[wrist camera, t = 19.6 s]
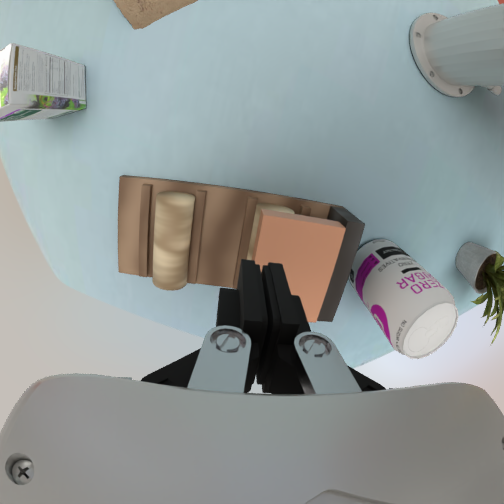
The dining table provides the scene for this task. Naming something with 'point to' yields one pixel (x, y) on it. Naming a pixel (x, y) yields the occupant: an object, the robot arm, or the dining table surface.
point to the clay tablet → (148, 10)
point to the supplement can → (403, 299)
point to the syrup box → (38, 84)
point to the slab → (300, 253)
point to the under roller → (172, 239)
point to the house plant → (484, 277)
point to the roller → (256, 220)
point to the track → (221, 232)
